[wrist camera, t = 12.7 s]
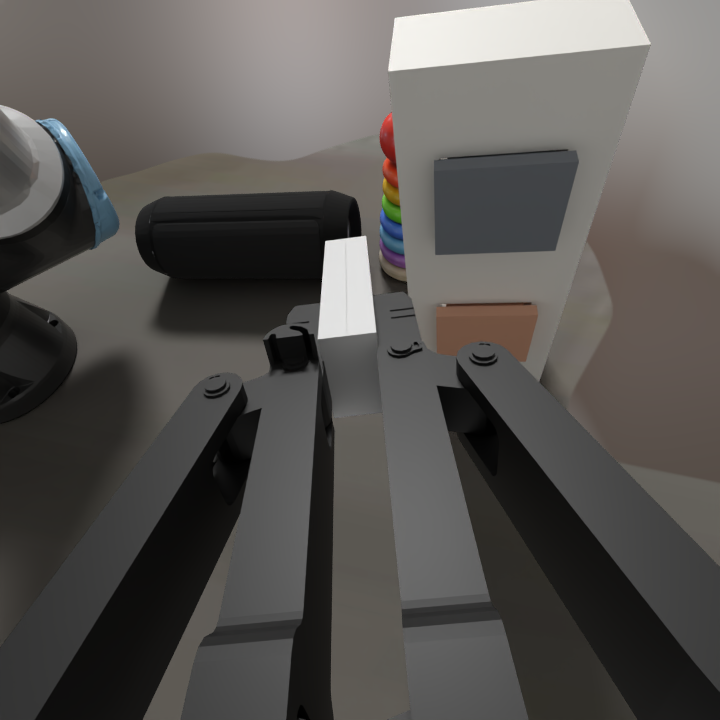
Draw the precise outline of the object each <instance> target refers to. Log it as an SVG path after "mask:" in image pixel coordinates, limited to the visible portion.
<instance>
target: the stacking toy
mask: <svg viewBox="0 0 720 720" xmlns="http://www.w3.org/2000/svg"><path fill="white" fill-rule="evenodd" d="M380 144H381V148H382V150H383V152H384V154H385V156H386V157H387V158H386V160H385V161H384V164H383V175H384V177H385V178H384V181H383V192H384V195H383V198H382V211H381V214H380V222H381V226H380V237H381V238H380V253H379V261H380V264H381V267H382V268H383V270H384V271H385V272H386V273H387V274H388V275H390V276H391V277H393V278H395V279H397V280H400V281H406V282H407V276H406V265H405V254H404V243H403V231H402V220H401V209H400V198H399V187H398V176H397V165H396V154H395V142H394V131H393V120H392V112H391V113H390V114H389V115H388V116H387V117H386V119H385V120H384V122H383V124H382V127H381V131H380Z"/></svg>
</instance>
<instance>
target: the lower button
mask: <svg viewBox="0 0 720 720" xmlns="http://www.w3.org/2000/svg"><path fill="white" fill-rule="evenodd" d="M537 318H538V311H537V305H524V303H470V304H446V307H436V329H437V353H438V354H443V355H451V356H457V352H458V351H459V350H460V349H461V348H462V347H463V346H465V345H467V344H470V343H473V342H480V341H483V342H492V343H496V344H499V345H501V346H503V347H504V348H506V349H507V350H508V351H509V352H510V353H511V354H512V355H513V356H514V357H515V358H516V359H517V360H518V361H519V362H526V359H527V355H528V352H529V348H530V344H531V340H532V337H533V333H534V329H535V325H536V322H537Z"/></svg>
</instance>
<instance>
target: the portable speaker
mask: <svg viewBox="0 0 720 720" xmlns="http://www.w3.org/2000/svg"><path fill="white" fill-rule="evenodd" d="M135 236H136V243H137V247H138V250H139V253H140V255H141V257H142V259H143V260H144V262H145V263H146V264H147V265H148V266H149V267H150V268H151V269H153V270H155V271H157V272H160V273H162V274H165V275H167V276H170V277H173V278H322V277H323V264H324V252H325V241H330V240H338V239H345V238H353V237H361V219H360V212H359V207H358V204H357V201H356V199H355V198H353V197H351V196H348V195H345V194H342V193H339V192H336V191H333V190H331V191H311V192H284V193H257V194H230V195H202V196H175V197H163V198H160V199H158V200H156V201H154V202H152V203H150V204H148V205H146V206H145V207H144V208H142V210H141V211H140V213H139V214H138V217H137V220H136V226H135Z"/></svg>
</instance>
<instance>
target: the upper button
mask: <svg viewBox="0 0 720 720" xmlns="http://www.w3.org/2000/svg"><path fill="white" fill-rule="evenodd" d="M578 164H579V159H578V155H577V151H576V150H574V151H559V152H556V151H555V150H550V151H535V152H521V153H507V154H492V155H478V156H464V157H450V158H448V159H444V160H434V211H435V255H452V254H481V253H510V252H538V251H555V250H556V246H557V243H558V239H559V235H560V231H561V228H562V224H563V220H564V216H565V213H566V209H567V205H568V201H569V198H570V194H571V190H572V186H573V183H574V179H575V175H576V171H577V167H578Z"/></svg>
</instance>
